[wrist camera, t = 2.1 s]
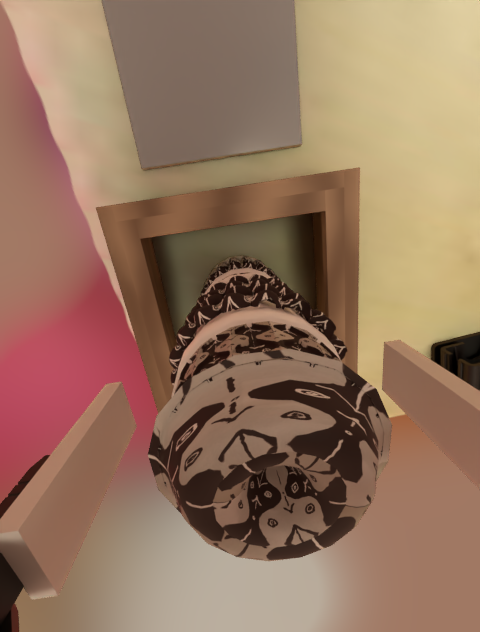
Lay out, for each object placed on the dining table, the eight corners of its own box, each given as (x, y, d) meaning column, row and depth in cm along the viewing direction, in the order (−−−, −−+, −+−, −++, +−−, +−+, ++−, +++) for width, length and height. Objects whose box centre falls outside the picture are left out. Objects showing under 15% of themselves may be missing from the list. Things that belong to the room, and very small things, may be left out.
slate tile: (287, -82, 21) (289, -94, 20) (299, 146, 26) (301, 143, 25) (92, -51, 21) (86, -61, 20) (144, 170, 26) (141, 168, 25)
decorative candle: (284, 254, 30) (503, 365, 6) (273, 329, 33) (393, 599, 9) (204, 248, 29) (96, 341, 5) (201, 324, 32) (123, 601, 8)
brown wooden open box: (322, 184, 27) (359, 167, 20) (327, 354, 34) (357, 391, 26) (133, 213, 27) (95, 207, 20) (175, 376, 34) (160, 420, 26)
